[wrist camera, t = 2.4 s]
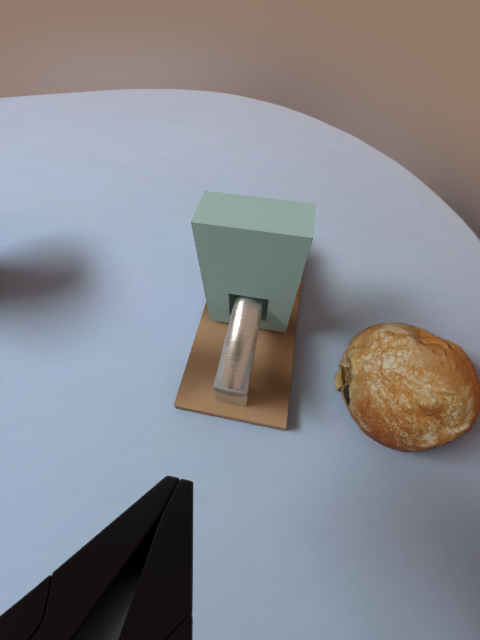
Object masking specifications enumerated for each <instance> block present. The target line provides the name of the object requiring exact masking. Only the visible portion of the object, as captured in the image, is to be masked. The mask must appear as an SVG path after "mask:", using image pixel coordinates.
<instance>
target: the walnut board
mask: <svg viewBox="0 0 480 640" xmlns="http://www.w3.org/2000/svg"><path fill="white" fill-rule="evenodd" d="M301 280H302V278H301ZM300 290H301V281H300V284H299V288H298V291H297V295H296V298H295V301H294V305H293V308H292V312H291V315H290V318H289V322H288V325H287V329H286V332H279V331H273V330H267V329H261V328H259V331H258V337H257V342H256V348H255V353H254V359H253V364H252V370H251V376H250V388H249V394H248V400H247V405H246V407H244V406H239V405H234V404H229V403H224V402H219V401H217V400H216V397H215V393H214V390H213V385H214V381H215V377H216V373H217V369H218V365H219V361H220V357H221V353H222V349H223V345H224V341H225V337H226V333H227V329H228V325H229V323H225V322H219V321H213V320H210V317H209V312H208V307H207V302H206V305H205V308H204V311H203V314H202V317H201V321H200V324H199V327H198V330H197V333H196V336H195V340H194V343H193V346H192V349H191V352H190V355H189V359H188V362H187V365H186V368H185V371H184V374H183V378H182V381H181V384H180V387H179V390H178V393H177V397H176V400H175V403H174V406H175V408H177V409H182V410H186V411H191V412H196V413H201V414H206V415H211V416H216V417H221V418H225V419H230V420H235V421H240V422H245V423H250V424H255V425H260V426H265V427H269V428H274V429H279V430H284V431H285V429H286V426H287V416H288V407H289V397H290V387H291V377H292V367H293V357H294V347H295V337H296V327H297V317H298V307H299V298H300Z"/></svg>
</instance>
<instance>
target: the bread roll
mask: <svg viewBox="0 0 480 640" xmlns="http://www.w3.org/2000/svg"><path fill="white" fill-rule="evenodd" d="M338 366H339V367H340V369H339V371H338V372H336V374H335V379H334V384H335V387H336V390H337V391H340V392H341V393H342V397H343V400H344V402H345V404H346V407H347V409H348V410H349V411H350V414H351V417H352V418H353V419H354V420H355V422H356V423H357V424H358V426H359V428H360V429H361V430H362V431H363V432H364V433H365V434H366V435H367V436H369V437H370V438H372V439H373V440H375V441H377V442H378V443H380V444H382V445H384V446H386V447H389V448H392V449H396V450H400V451H406V452H409V451H421V450H426V449H430V448H434V447H437V446H440V445H443V444H445V443H448V442H451V441H453V440H455V439H457V438H458V437H460V436H461V435H463V434H465V433H467V432H468V431H469V430H470V429H471V428H472V425H473V424H474V423H475V422H476V418H477V416H478V413H479V411H480V382H479V379H478V376H477V373H476V370H475V368H474V366H473V364H472V362H471V360H470V358H469V357H467V355H466V354H465V352H464V351H463V350H462V349H461V347H460V346H459V345H457V344H454V343H452V342H449V341H447V340H444V339H442V338H440V337H437V336H435V335H434V334H431V333H430V332H428V331H426V330H424V329H421V328H417V327H414V326H411V325H407V324H402V323H381V324H377V325H374V326H371V327H369V328H367V329H365V330H363V331H362V332H361V333H359V334H358V335H357V336H355V337H354V338H353V339H352V340H351V342H350V344H349V345H348V347H347V349H346V351H345V352H344V354H343V356H342V358H341V362H340V363H339V365H338Z"/></svg>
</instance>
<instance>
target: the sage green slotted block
mask: <svg viewBox="0 0 480 640" xmlns="http://www.w3.org/2000/svg"><path fill="white" fill-rule="evenodd" d="M315 209H316V204H312V203H303V202H294V201H286V200H277V199H269V198H260V197H252V196H243V195H235V194H226V193H217V192H209V191H204V193H203V196H202V198H201V200H200V203H199V205H198V207H197V210H196V212H195V214H194V216H193V219H192V221H191V224H192V229H193V235H194V240H195V245H196V250H197V255H198V260H199V265H200V271H201V276H202V281H203V286H204V291H205V296H206V302H207V307H208V312H209V317H210V320H213V321H219V322H225V323H229V321H230V317H231V313H232V309H233V305H234V301H235V297H236V295H241V296H248V297H254V298H261V299H264V304H263V309H262V315H261V320H260V326H259V328H261V329H267V330H273V331H279V332H286V329H287V325H288V322H289V318H290V315H291V312H292V308H293V305H294V301H295V298H296V295H297V291H298V288H299V284H300V281H301V278H302V274H303V271H304V267H305V264H306V261H307V257H308V254H309V250H310V247H311V244H312V240H313V234H314V221H315Z"/></svg>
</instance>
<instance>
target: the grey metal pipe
mask: <svg viewBox="0 0 480 640" xmlns="http://www.w3.org/2000/svg"><path fill="white" fill-rule="evenodd" d="M263 304H264V299H261V298H254V297H248V296H241V295H236V297H235V301H234V305H233V309H232V313H231V317H230V321H229V325H228V329H227V333H226V337H225V341H224V345H223V349H222V353H221V357H220V361H219V365H218V369H217V373H216V377H215V381H214V385H213V390H214V393H215V397H216V400H217V401H219V402H224V403H229V404H234V405H239V406H244V407H246V405H247V400H248V394H249V388H250V376H251V370H252V364H253V359H254V353H255V348H256V342H257V337H258V331H259V326H260V320H261V315H262V309H263Z"/></svg>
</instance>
